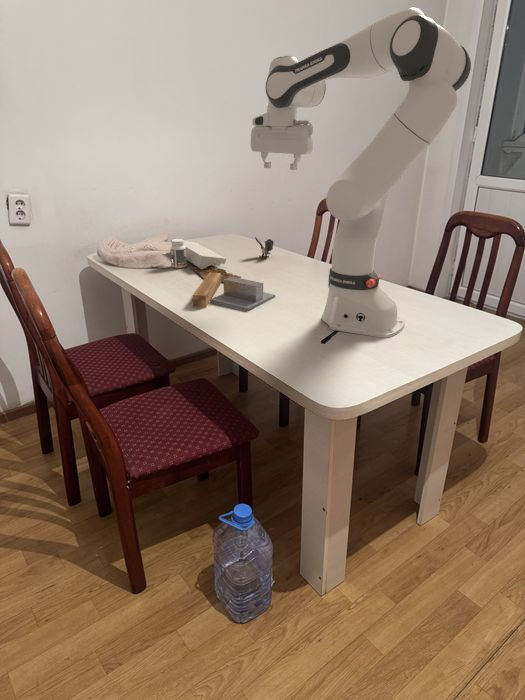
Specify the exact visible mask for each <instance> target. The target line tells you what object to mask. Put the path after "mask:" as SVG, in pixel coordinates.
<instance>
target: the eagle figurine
mask: <svg viewBox="0 0 525 700" xmlns="http://www.w3.org/2000/svg"><path fill="white" fill-rule="evenodd" d="M254 239H255V240H256V242H257V243H258V244H259V246H260V249H261V255H258V257H255V259H265V260H268V257H267V256H268V255H271V254H272V253H271V251H273V249H274V248H273V246H274V244H275V242H274V241H273V240H272V239H267V240H265V241H264V245H263V243H262V242H261V241H260V240H259V239H258V238H257V237H254Z"/></svg>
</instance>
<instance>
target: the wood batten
mask: <svg viewBox="0 0 525 700" xmlns="http://www.w3.org/2000/svg"><path fill="white" fill-rule="evenodd" d="M221 284H222V282H221V273H209V274H208V275H207V276H206V278H205V279H203V280H202V282H201V283H200V284H199V286H198V287H197V288H196V290H195V291H194V292H193V293H192V296H191V297H192V298H191V299H192V307H193V308H203V309H204V308H205V309H206V308H207V307H208V306H209V304H210V299H212V298H214V297H215V294H216V292H218V289H219V287H220V286H221Z"/></svg>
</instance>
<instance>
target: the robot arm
mask: <svg viewBox="0 0 525 700" xmlns="http://www.w3.org/2000/svg"><path fill="white" fill-rule="evenodd" d="M471 61H472V60H471V58H470V55H469V53H468V52H467V50H466V49H465V47H464V46H462V44H460V43H459V42H458V41H457V40H456V39H455V38H454V37H453V35H452V33H450V31H448V30H446V28H444V27H442V26H441V25H439V24H437V23H436V22H435V20H434V19H432V18H431V17H427V16H426V15H425V13H424V12H423V11H421V9H419V8H416V7H408V8H405V9H401V10H399V11H397V12H394V13H392V14H389V15H387V16H385V17H383V18H380V19H379V20H377V21H375V22H374V23H372V24H370V25H368V26H367V27H364V28H363V29H362V30H360V31H358V32H356V33H355V34H353V35H351V36H349V37H348V38H346V39H343V40H341V41H339V42H338V43H336V44H333V45H332V46H329V47H327V48H325V49H323V50H320V51H319V52H316V53H314V54H313V55H309V56H308V57H305V58H304V59H301V60H300V61H298V59H297V58H296V57H295V56H293V55H284V56H279V57H275V58H274V59H272V60H271V61H270V65H269V67H268V73H267V75H268V76H267V78H266V82H265V93H266V96H267V98H268V103H267V107H266V108H267V109H266V110H267V111H266V112H265V113H262V114H260V115H258V116H255V117H253V118H252V121H251V122H252V125H253V127H252V129H251V133H250V149H251V151H252V152H254V153H255V152H256V153H260V156H261V159H262V161H263V168H264V169H271V167H272V162H271V161H269V158H268V157H269V153H271V154H289V155H293V160H294V161H293V162H292V163H290V168H289V170H290V171H297V170H298V164H299V162H300V161H301V159H302V155H304V156H305V155H306V156H307V155H311V154H312V152H313V128H314V127H313V125H312V123H311V122H310V121H309V120H308V119H307V120H306V119H304V120H300V119H297V118H298V108H304V109H305V108H313V107H317V106H319V105H320V104H321V103H322V101H323V100H324V98H325V94H326V90H327V86H326V85H327V84H326V81H327V80H332V79H339V78H340V79H345V78H348V79H368V78H369V79H370V78H373V77H378V76H380V75H383V74H386V73H388V72H391V71H392V70H394V69H396V70H397V72H398V75H399V78H400V79H401V81H403V82H408V91H407V94H406V96H405V97H404V99H403V100H402V101H401V103H400V104H399V105H398V106H397V108H396V109H395V111H393V113H392V114H391V116H390V117H389V118H388V119H387V121H386V122H385V124H384V125H383V126H382V127H381V129H380V130H379V131H378V132H377V134H376V135H375V137H374V138H373V139H371V142H370V143H369V144H368V145H367V146H366V147H365V149H363V150H362V151H361V152H360V154H358V156H357V157H356V158H355V159H353V161H352V162H351V163H350V164H349V165H348V167H346V169H344V171H343V172H342V173H341V175H340V176H339V177H338V178H337V179H336V181H334V182H333V183H332V185H331V186H330V187H329V188H328V190H327V193H326V196H325V197H326V198H325V199H326V202H325V203H326V206H327V210H328V212H329V213H330V214H331V215H332V216H333V218H335V219H337V220H339V223H338V225H337V226H338V227H337V230H336V233H335V235H334V236H333V237H334V238H333V242H332V253H331V267H330V268H329V273H328V284H327V285H328V294H327V298H326V303H325V307H324V310H323V313H322V315H321V320H322V321H323V322H324V323H325V324H327V325H328V327H329V329H330V330H332V331H338V332H344V333H345V332H346V333H351V334H358V335H364V336H370V337H377V338H384V339H386V338H391V337H394V336H396V335H398V334H399V333H400V332H401V331H403V330H404V328H405V326H406V325H405V324H406V323H405V320H404V319H403V318H400V317H398V307H397V303H396V301H395V300H393V298H392V297H390V296H389V295H388V294H387V293H386V292H385V290H383V289H382V288H381V287H380V285H379V284H380V280H381V279H382V274H377V273H376V272H375V271H374V265H375V256H376V250H377V249H376V248H377V247H376V246H377V242H378V237H379V232H380V228H381V224H382V220H383V215H384V211H385V206H386V202H387V198H388V195H389V191H390V190H391V188H393V186H394V185H395V184H396V183H397V182H398V181H399V180H400V179H401V178H402V177H404V175H405V174H406V173H408V171H409V170H410V168H411V167H412V166H413V165H414V164H415V163H416V162H417V160H418V159H419V158H420V157H421V155H423V153H424V152H425V151H426V150H427V148H429V146H430V145H431V144H432V142H433V141H434V140H435V139H436V138H437V136H438V135H439V133H440V132H441V131H442V130H443V128H444V127H445V125H446V124H447V122H448V121H449V118H451V116H452V114H453V112H454V111H455V108H456V106H457V104H458V95H457V91H458V90H460V89H461V87H463V85H464V84H465V83H466V81H467V80H468V78H469V76H470V73H471V70H472V69H471V68H472V62H471Z"/></svg>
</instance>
